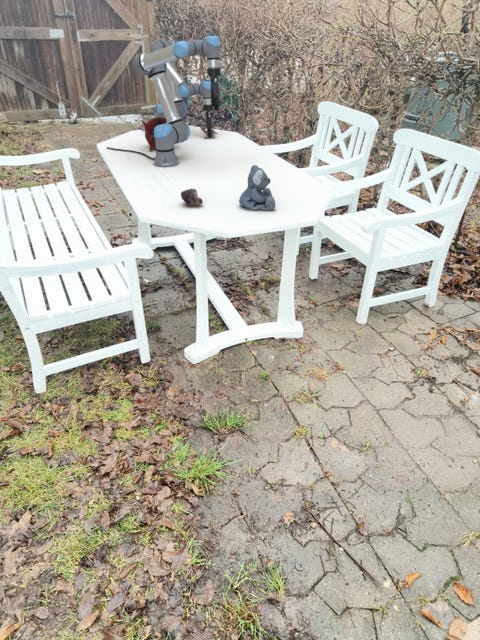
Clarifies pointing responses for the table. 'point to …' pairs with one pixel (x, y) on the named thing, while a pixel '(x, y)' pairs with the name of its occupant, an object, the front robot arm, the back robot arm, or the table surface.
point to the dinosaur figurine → (207, 131)
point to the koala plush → (257, 191)
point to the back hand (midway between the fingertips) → (209, 136)
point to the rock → (191, 197)
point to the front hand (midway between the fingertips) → (215, 108)
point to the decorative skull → (152, 130)
